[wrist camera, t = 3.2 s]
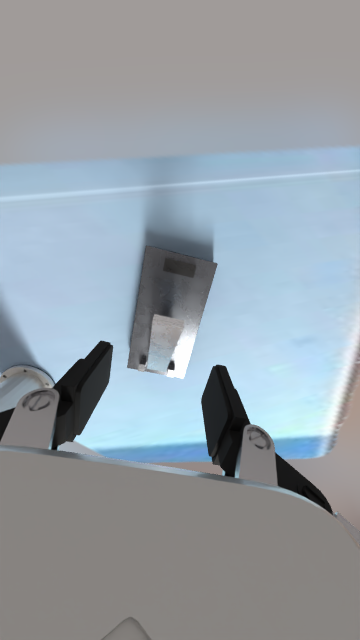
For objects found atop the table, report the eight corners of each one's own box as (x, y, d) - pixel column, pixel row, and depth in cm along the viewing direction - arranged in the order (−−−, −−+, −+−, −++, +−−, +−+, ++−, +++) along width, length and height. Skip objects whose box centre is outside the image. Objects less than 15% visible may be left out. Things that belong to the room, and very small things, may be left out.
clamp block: (183, 367, 42) (183, 384, 36) (132, 356, 41) (124, 373, 35) (213, 262, 33) (219, 264, 28) (150, 246, 32) (144, 245, 27)
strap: (166, 367, 37) (165, 372, 36) (148, 363, 37) (147, 368, 36) (184, 320, 22) (183, 327, 22) (154, 313, 22) (152, 320, 21)
